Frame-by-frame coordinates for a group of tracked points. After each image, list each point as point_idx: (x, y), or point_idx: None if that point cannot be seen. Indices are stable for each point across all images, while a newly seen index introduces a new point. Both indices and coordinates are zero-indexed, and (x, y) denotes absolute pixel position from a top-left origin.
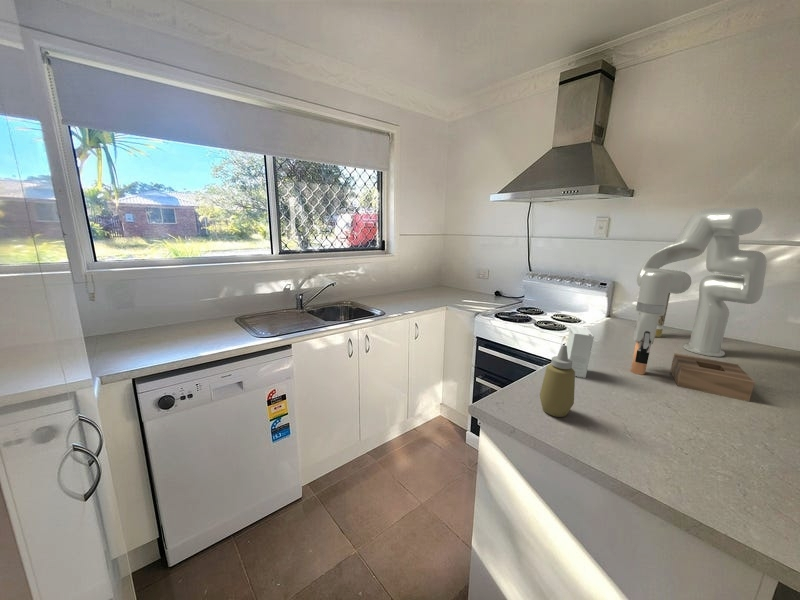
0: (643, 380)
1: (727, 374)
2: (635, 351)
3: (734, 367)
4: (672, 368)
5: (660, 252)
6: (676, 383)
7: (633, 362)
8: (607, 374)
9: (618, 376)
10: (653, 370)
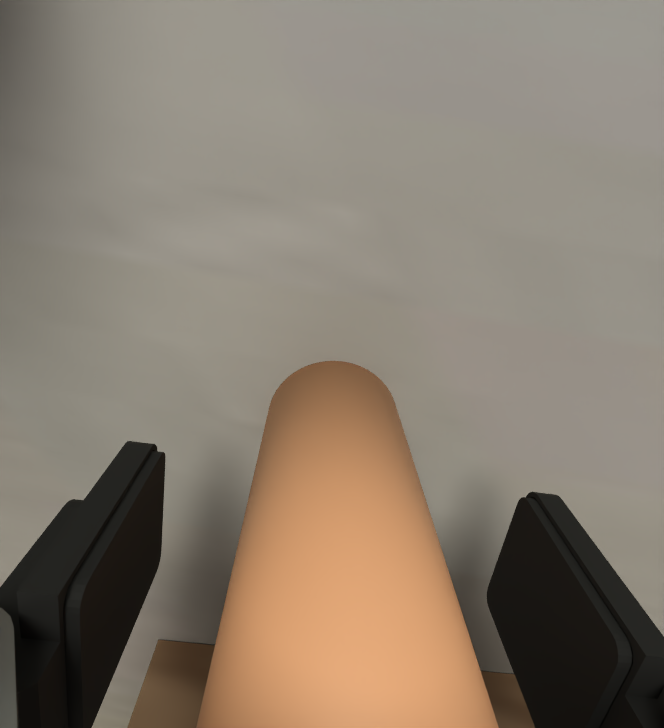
0: (106, 427)
1: None
2: (300, 535)
3: None
4: (505, 704)
5: None
6: (212, 645)
7: (301, 419)
8: (19, 49)
9: (46, 190)
10: (465, 560)
